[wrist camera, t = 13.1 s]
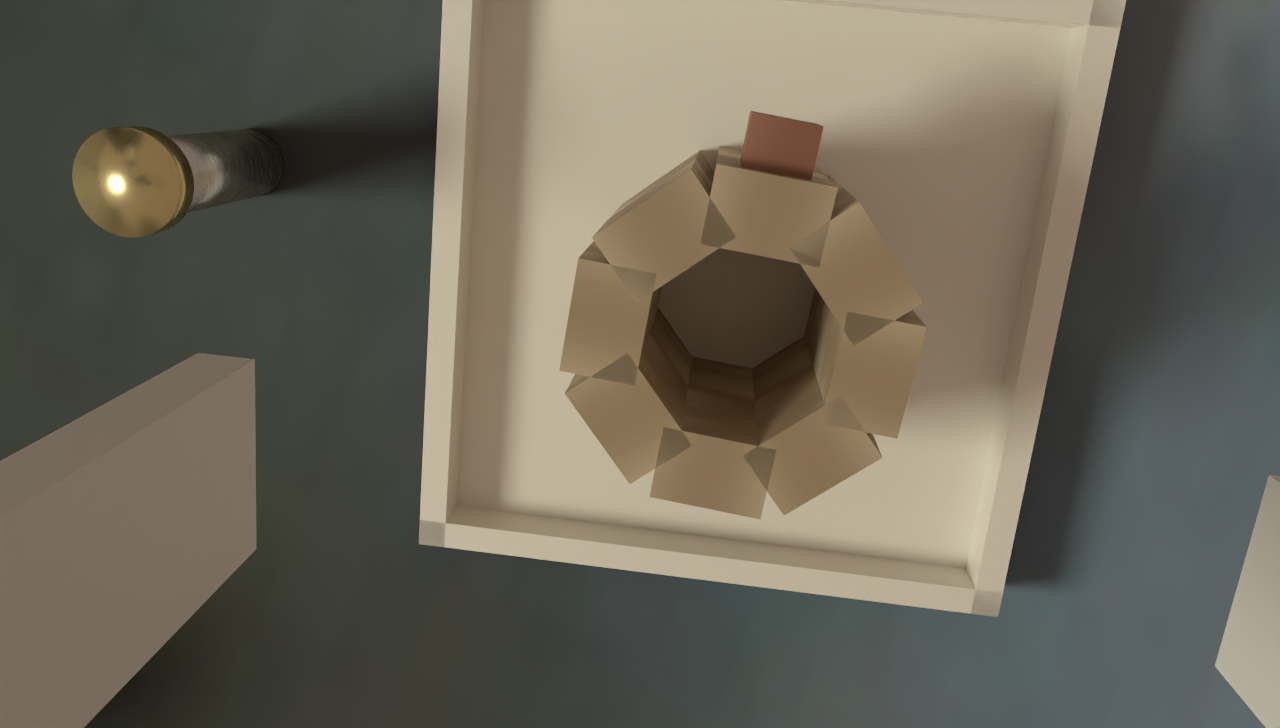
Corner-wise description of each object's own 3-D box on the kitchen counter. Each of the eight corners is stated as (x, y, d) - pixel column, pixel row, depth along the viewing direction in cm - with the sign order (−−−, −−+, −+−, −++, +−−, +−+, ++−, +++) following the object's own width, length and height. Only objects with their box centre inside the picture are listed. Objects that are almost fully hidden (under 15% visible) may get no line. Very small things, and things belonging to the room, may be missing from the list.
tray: (464, -59, 29) (445, -69, 27) (1100, 1, 28) (1127, -5, 26) (436, 517, 34) (418, 543, 32) (982, 586, 33) (997, 617, 31)
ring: (581, 392, 32) (541, 474, 25) (635, 85, 29) (607, 85, 23) (839, 444, 32) (869, 542, 25) (916, 139, 29) (972, 155, 22)
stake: (208, 114, 31) (69, 122, 25) (292, 123, 31) (176, 133, 25) (209, 201, 32) (74, 231, 25) (292, 210, 32) (178, 243, 25)
